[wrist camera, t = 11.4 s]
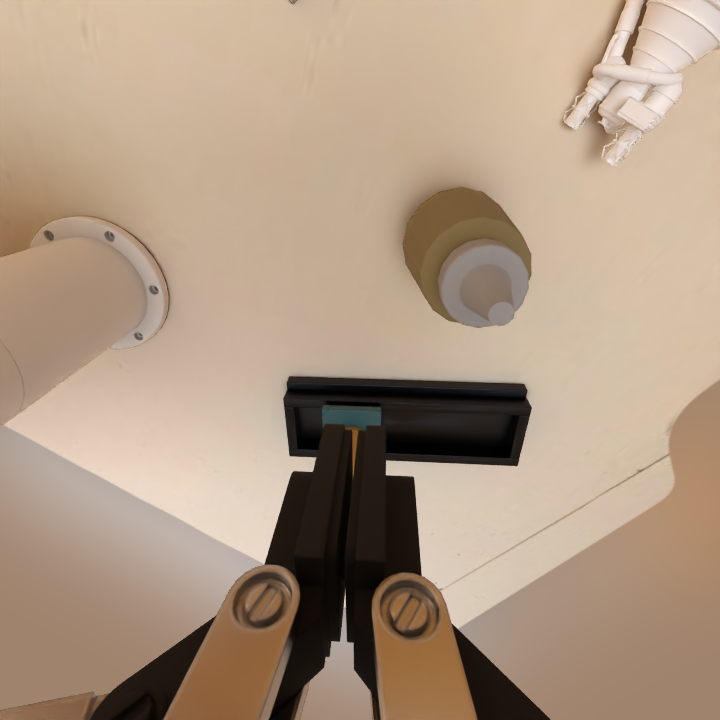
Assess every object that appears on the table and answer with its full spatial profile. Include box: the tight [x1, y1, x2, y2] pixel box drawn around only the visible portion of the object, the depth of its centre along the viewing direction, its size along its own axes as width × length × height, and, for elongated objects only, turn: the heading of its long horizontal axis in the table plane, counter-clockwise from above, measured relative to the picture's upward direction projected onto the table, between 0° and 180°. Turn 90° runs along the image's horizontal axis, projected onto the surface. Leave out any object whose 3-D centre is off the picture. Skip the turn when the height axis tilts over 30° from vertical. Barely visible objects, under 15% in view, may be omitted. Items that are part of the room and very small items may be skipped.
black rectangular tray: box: [283, 377, 532, 466], centre depth 42 cm, size 24×9×3 cm, turn 90°
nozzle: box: [322, 405, 381, 474], centre depth 39 cm, size 6×8×8 cm
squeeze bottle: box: [403, 187, 531, 328], centre depth 26 cm, size 8×8×18 cm
